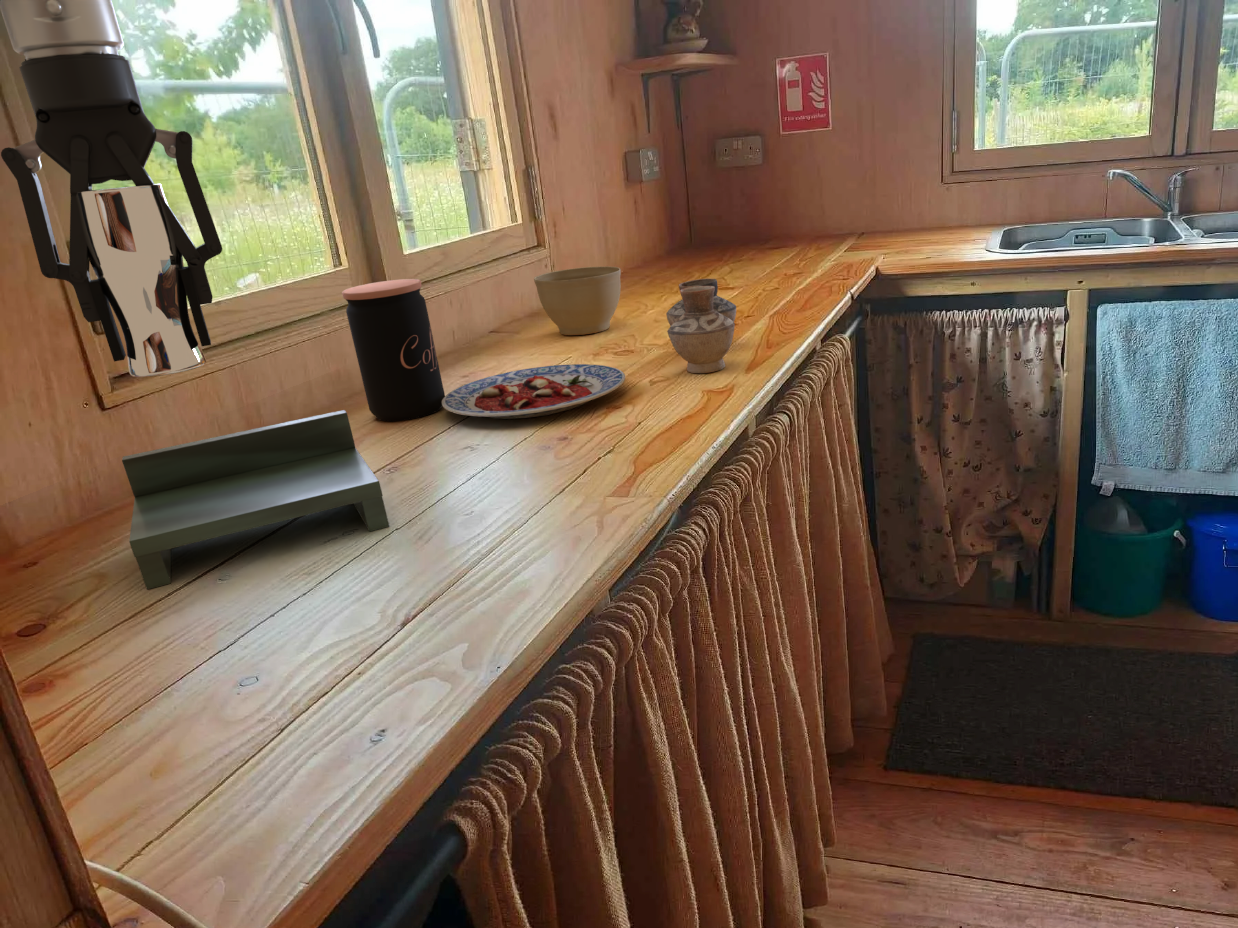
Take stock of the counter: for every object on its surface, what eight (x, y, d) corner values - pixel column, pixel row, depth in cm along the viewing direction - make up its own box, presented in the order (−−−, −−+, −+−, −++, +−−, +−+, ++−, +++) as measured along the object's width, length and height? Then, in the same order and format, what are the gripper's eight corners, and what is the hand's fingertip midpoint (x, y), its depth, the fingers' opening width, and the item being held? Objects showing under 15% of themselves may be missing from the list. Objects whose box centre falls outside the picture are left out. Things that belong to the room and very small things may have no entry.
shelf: (150, 537, 101) (122, 456, 98) (363, 486, 110) (344, 409, 107) (146, 591, 88) (114, 499, 85) (390, 528, 96) (369, 441, 93)
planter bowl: (592, 341, 174) (583, 280, 170) (525, 339, 182) (515, 281, 178) (644, 322, 186) (637, 264, 182) (579, 321, 194) (571, 266, 190)
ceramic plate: (465, 443, 122) (460, 420, 120) (430, 402, 144) (426, 382, 143) (654, 401, 130) (652, 380, 129) (593, 369, 153) (591, 350, 151)
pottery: (668, 381, 140) (658, 298, 136) (671, 345, 163) (662, 273, 159) (746, 373, 140) (739, 289, 135) (738, 338, 163) (731, 265, 158)
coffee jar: (421, 422, 134) (392, 290, 127) (356, 423, 137) (325, 295, 130) (460, 400, 143) (435, 276, 136) (399, 401, 146) (371, 281, 140)
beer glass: (168, 360, 89) (119, 187, 83) (229, 358, 86) (183, 181, 81) (105, 379, 82) (47, 194, 77) (169, 378, 80) (114, 188, 75)
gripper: (-86, 60, 68) (30, 380, 77) (206, 41, 75) (283, 336, 84) (-62, 70, 75) (43, 364, 83) (205, 52, 82) (276, 325, 90)
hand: (163, 350), depth 84 cm, fingers closed on beer glass, 6 cm apart
